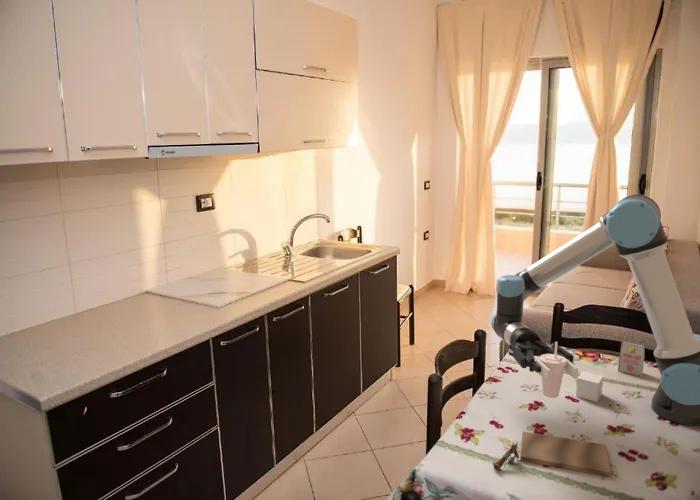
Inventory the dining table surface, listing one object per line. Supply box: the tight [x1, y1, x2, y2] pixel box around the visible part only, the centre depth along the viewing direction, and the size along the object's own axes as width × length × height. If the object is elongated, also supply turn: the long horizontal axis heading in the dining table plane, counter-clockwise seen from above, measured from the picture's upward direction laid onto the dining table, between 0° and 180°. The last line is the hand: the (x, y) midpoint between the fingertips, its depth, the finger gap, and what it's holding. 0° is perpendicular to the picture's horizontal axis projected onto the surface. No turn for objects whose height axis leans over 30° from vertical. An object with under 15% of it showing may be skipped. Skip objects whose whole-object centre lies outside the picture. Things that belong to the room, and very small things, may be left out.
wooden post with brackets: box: [492, 443, 520, 472], centre depth 131 cm, size 2×8×4 cm, turn 124°
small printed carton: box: [617, 341, 645, 377], centre depth 179 cm, size 4×7×10 cm, turn 51°
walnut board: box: [519, 431, 612, 478], centre depth 134 cm, size 20×12×1 cm, turn 70°
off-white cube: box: [575, 371, 604, 403], centre depth 164 cm, size 6×6×6 cm
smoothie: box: [539, 341, 567, 399], centre depth 136 cm, size 6×6×14 cm
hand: (562, 374), depth 131 cm, fingers closed on smoothie, 6 cm apart
